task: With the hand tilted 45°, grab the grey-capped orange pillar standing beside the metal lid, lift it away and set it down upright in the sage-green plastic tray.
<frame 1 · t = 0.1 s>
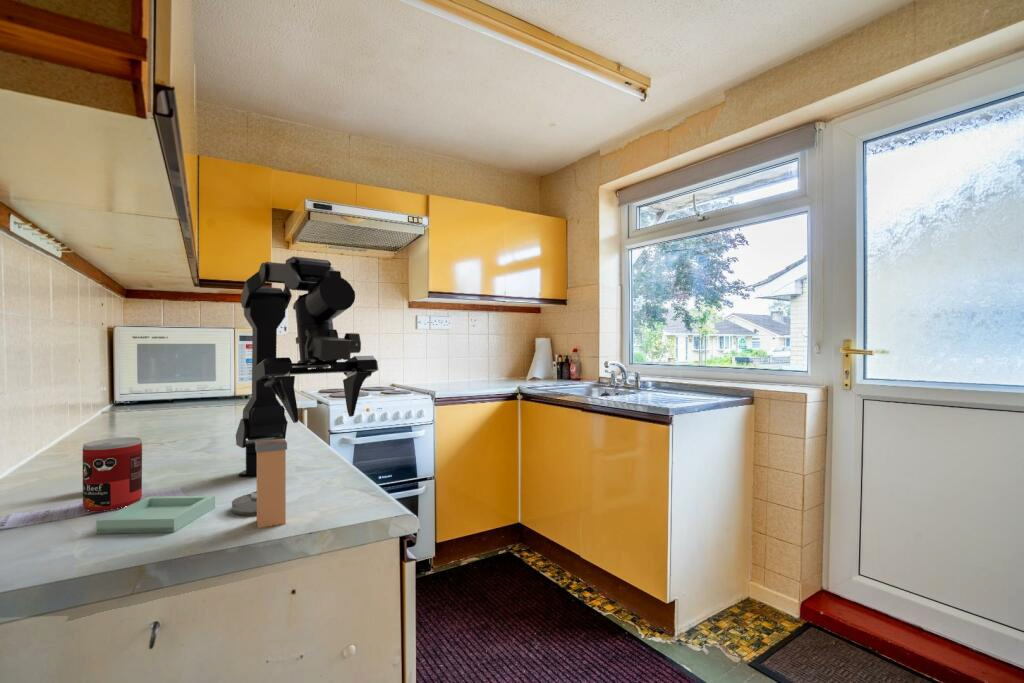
hand: (324, 419, 81), 15 cm above the worktop, tool pointing down, fingers open, 9 cm apart
tray: (160, 519, 78), on the worktop
canned food: (113, 505, 85), on the worktop
grey-capped orange pillar: (271, 522, 77), on the worktop
metal lid: (258, 507, 83), on the worktop
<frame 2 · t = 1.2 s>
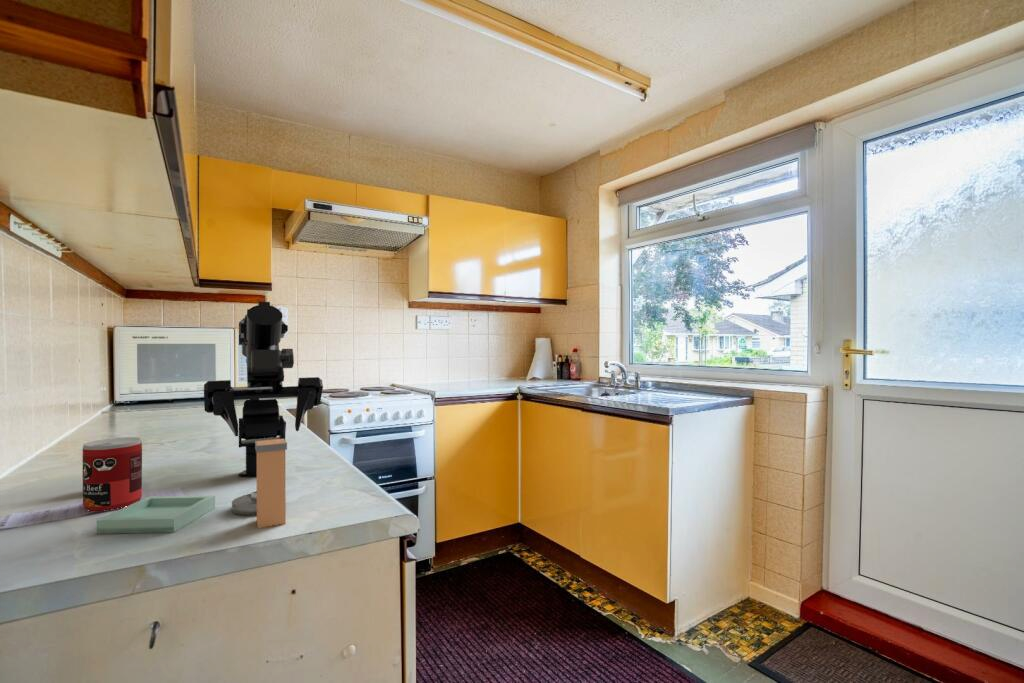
hand: (268, 432, 83), 13 cm above the worktop, tool tilted 45°, fingers open, 9 cm apart
nothing on the worktop moved.
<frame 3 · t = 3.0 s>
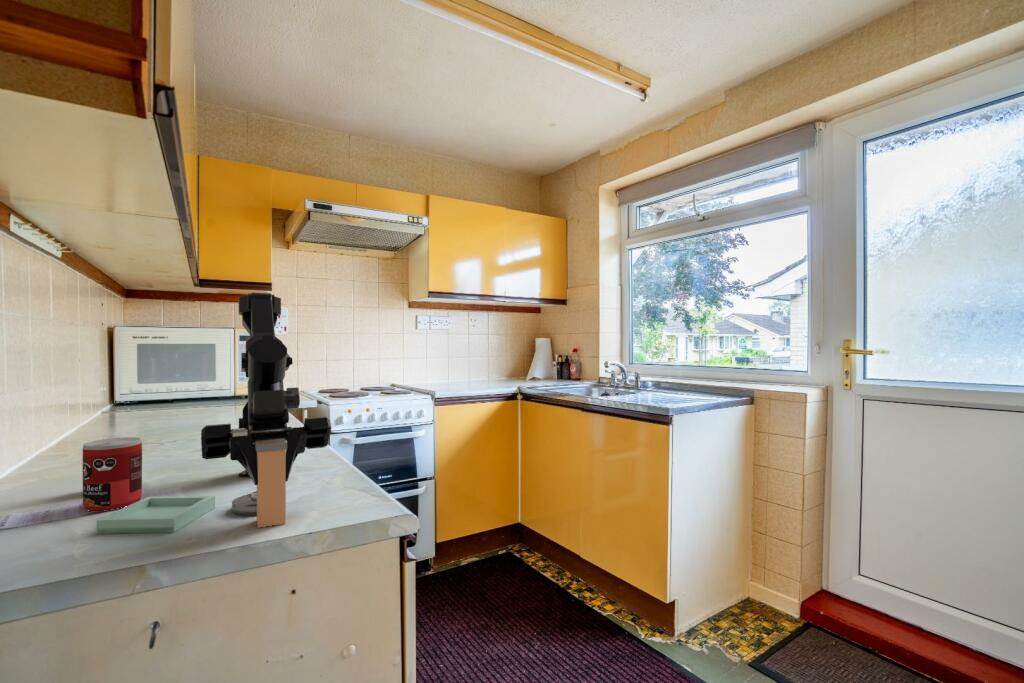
hand: (271, 481, 76), 7 cm above the worktop, tool tilted 45°, fingers closed on grey-capped orange pillar, 4 cm apart
grey-capped orange pillar: (271, 522, 77), on the worktop, touching gripper
everything else where it was.
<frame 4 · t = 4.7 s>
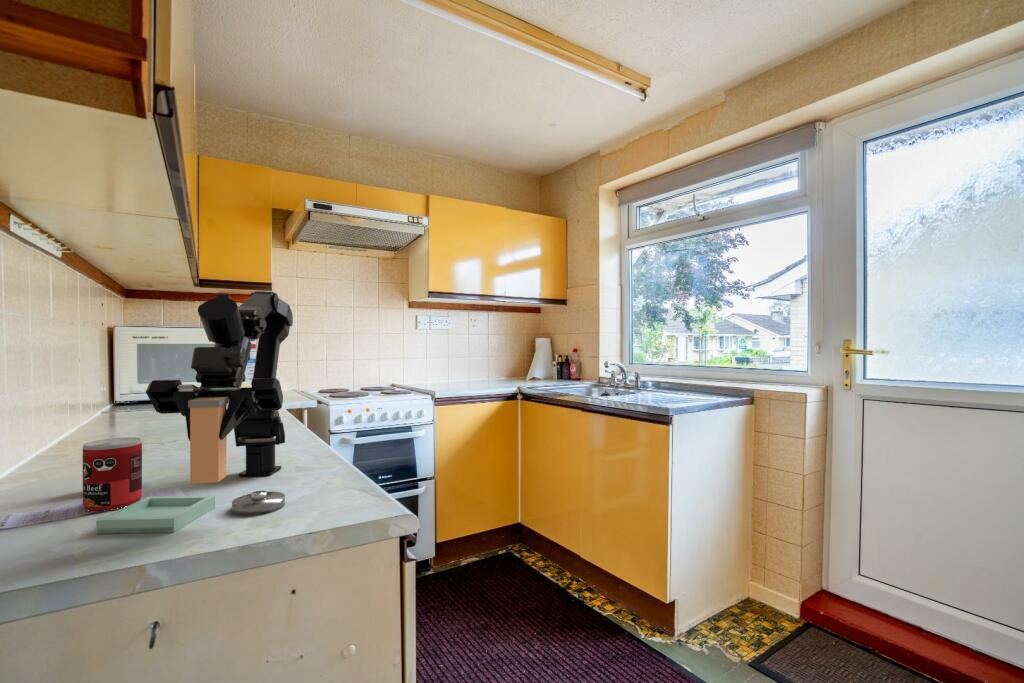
hand: (205, 438, 75), 13 cm above the worktop, tool tilted 45°, fingers closed on grey-capped orange pillar, 4 cm apart
grey-capped orange pillar: (208, 479, 76), point 7 cm above the worktop, touching gripper
everything else where it was.
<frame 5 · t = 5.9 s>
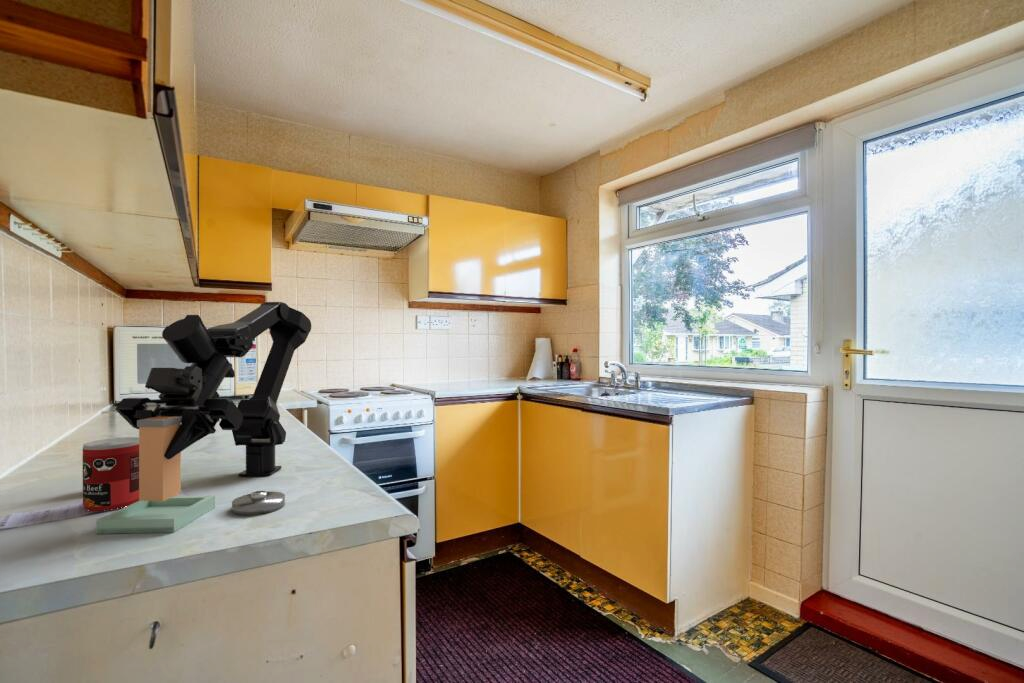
hand: (153, 457, 76), 10 cm above the worktop, tool tilted 45°, fingers closed on grey-capped orange pillar, 4 cm apart
grey-capped orange pillar: (160, 497, 78), point 4 cm above the worktop, touching gripper
everything else where it was.
when the fingers open (8 cm above the worktop, at t = 6.5 s): grey-capped orange pillar stays where it is, resting on tray.
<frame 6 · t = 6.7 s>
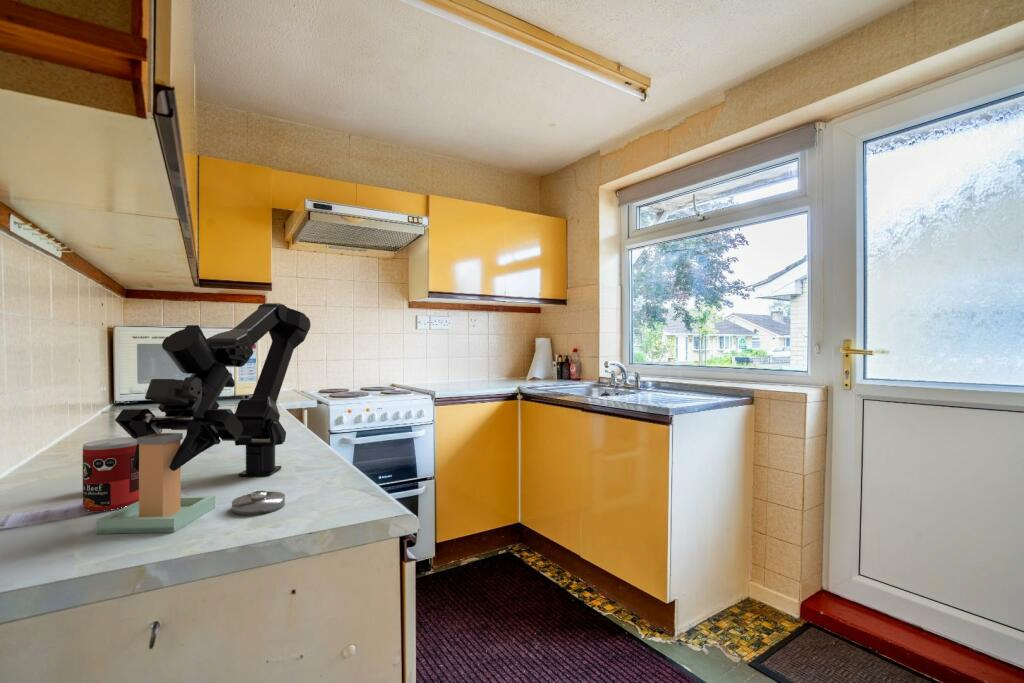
hand: (153, 469, 76), 8 cm above the worktop, tool tilted 45°, fingers open, 6 cm apart
grey-capped orange pillar: (160, 514, 78), point 1 cm above the worktop, touching tray
everything else where it was.
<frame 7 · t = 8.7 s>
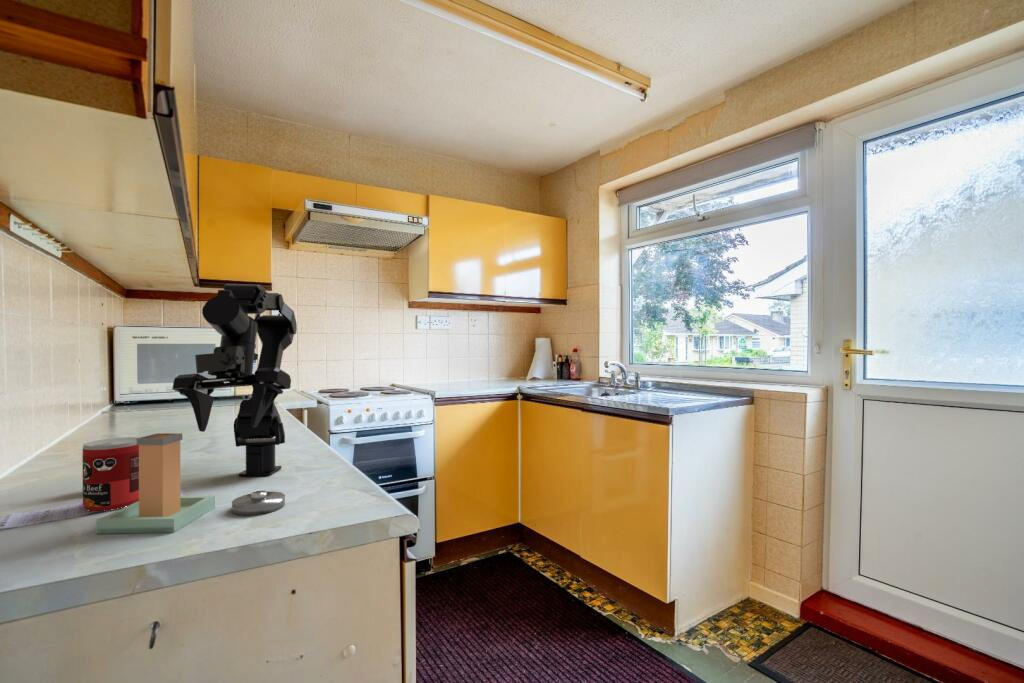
hand: (227, 429, 86), 13 cm above the worktop, tool tilted 20°, fingers open, 9 cm apart
nothing on the worktop moved.
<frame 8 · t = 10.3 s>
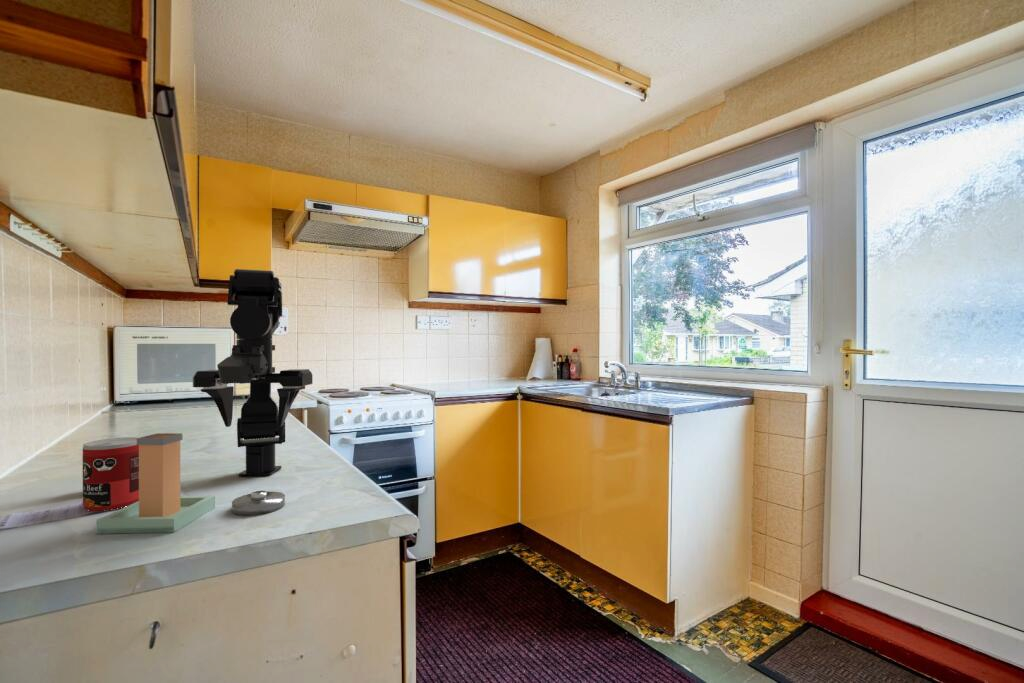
hand: (254, 426, 88), 13 cm above the worktop, tool pointing down, fingers open, 9 cm apart
nothing on the worktop moved.
at the end: grey-capped orange pillar inside the target area on the tray (0.1 cm from its centre), point 0.8 cm above the tray's base; grey-capped orange pillar tilted 0°; the gripper is holding nothing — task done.
